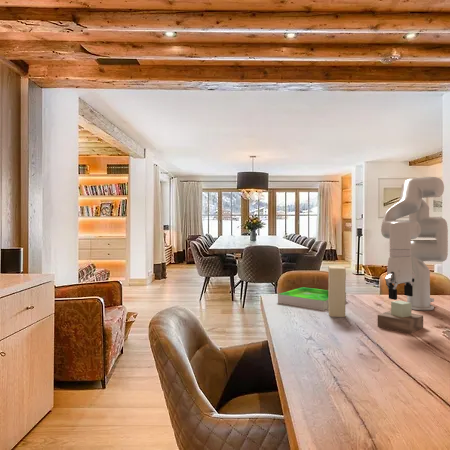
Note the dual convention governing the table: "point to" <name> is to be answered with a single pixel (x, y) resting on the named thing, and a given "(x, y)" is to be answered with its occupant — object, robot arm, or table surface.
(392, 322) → the walnut block
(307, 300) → the tray
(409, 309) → the cream cube
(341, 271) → the tall beige block
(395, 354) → the table surface
